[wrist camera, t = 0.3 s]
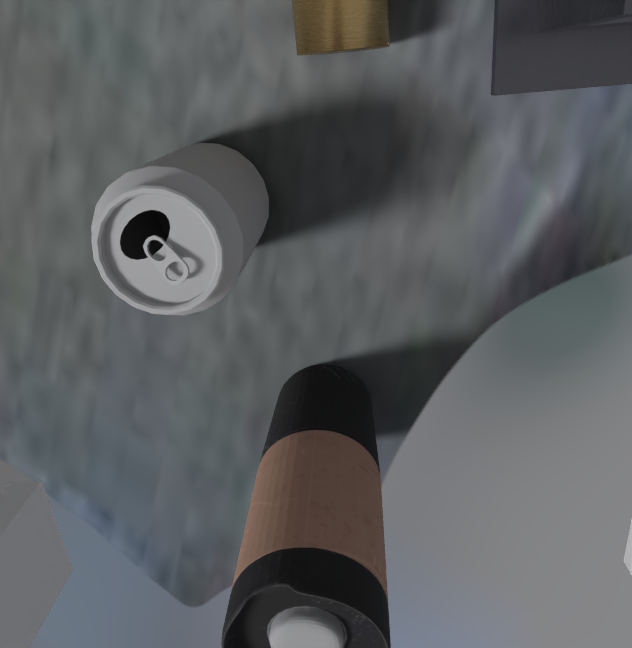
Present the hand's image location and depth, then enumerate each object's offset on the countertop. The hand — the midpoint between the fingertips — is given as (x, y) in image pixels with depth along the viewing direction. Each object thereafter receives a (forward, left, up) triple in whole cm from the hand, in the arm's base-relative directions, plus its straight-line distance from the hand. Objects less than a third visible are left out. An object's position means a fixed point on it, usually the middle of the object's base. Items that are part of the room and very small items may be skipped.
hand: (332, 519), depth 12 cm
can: (-2, -8, -27) cm, 28 cm away
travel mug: (+14, -2, -27) cm, 30 cm away
